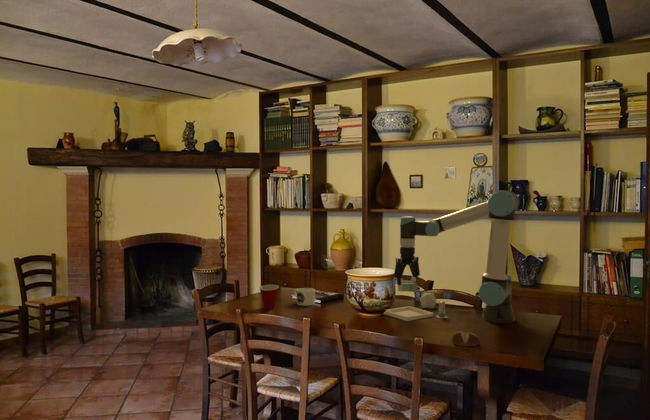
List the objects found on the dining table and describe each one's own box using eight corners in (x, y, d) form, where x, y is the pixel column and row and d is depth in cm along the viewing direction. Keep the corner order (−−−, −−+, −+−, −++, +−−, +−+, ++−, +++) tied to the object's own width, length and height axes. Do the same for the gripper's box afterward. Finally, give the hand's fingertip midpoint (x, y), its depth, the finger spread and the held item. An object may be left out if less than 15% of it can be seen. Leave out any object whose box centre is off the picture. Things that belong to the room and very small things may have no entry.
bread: (450, 346, 214) (450, 334, 214) (454, 338, 225) (454, 327, 225) (478, 349, 210) (478, 337, 210) (480, 341, 221) (480, 330, 221)
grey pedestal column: (450, 317, 260) (450, 302, 260) (441, 319, 257) (442, 303, 257) (441, 315, 265) (441, 300, 265) (433, 316, 262) (433, 301, 262)
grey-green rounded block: (395, 289, 266) (395, 281, 266) (407, 287, 271) (407, 280, 271) (409, 292, 257) (409, 284, 257) (421, 291, 262) (421, 283, 262)
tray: (433, 316, 262) (433, 312, 262) (406, 321, 252) (406, 317, 252) (409, 309, 277) (409, 306, 277) (383, 314, 267) (383, 310, 267)
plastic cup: (254, 308, 278) (254, 286, 278) (267, 305, 288) (267, 283, 287) (271, 311, 273) (271, 289, 272) (282, 307, 282) (282, 285, 282)
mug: (318, 303, 293) (318, 289, 293) (308, 306, 284) (308, 292, 284) (299, 300, 300) (299, 286, 300) (288, 303, 291) (288, 289, 291)
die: (438, 308, 284) (430, 292, 289) (440, 303, 276) (431, 287, 281) (424, 314, 283) (416, 298, 288) (425, 309, 275) (417, 293, 280)
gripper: (417, 244, 273) (416, 287, 274) (386, 246, 261) (386, 291, 262) (427, 246, 267) (427, 289, 268) (396, 248, 255) (396, 293, 256)
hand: (406, 290), depth 265 cm, fingers closed on grey-green rounded block, 8 cm apart
